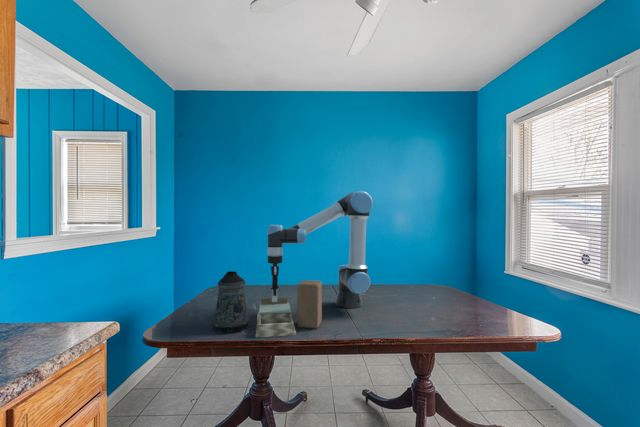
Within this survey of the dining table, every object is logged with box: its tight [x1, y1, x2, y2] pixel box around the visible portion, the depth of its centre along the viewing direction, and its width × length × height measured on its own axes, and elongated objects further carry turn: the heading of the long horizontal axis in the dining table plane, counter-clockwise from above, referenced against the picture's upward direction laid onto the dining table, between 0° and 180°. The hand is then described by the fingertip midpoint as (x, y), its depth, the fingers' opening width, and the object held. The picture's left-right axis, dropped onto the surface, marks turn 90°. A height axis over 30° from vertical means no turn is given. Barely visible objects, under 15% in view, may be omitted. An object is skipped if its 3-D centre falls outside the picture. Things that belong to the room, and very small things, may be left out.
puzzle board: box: [255, 306, 297, 338], centre depth 147 cm, size 17×32×5 cm, turn 10°
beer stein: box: [211, 270, 251, 335], centre depth 143 cm, size 16×19×25 cm
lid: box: [258, 296, 292, 314], centre depth 153 cm, size 15×15×4 cm
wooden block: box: [296, 279, 323, 329], centre depth 146 cm, size 10×10×20 cm
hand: (274, 301), depth 158 cm, fingers closed
